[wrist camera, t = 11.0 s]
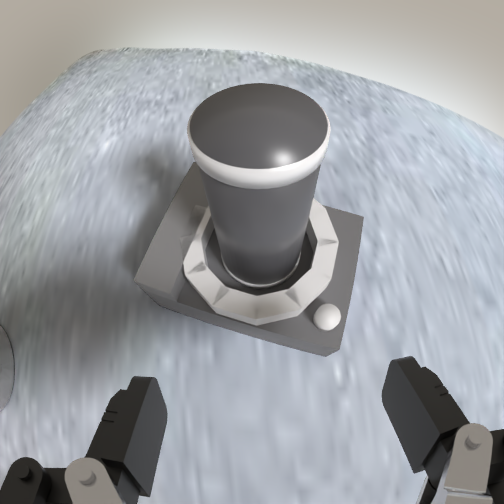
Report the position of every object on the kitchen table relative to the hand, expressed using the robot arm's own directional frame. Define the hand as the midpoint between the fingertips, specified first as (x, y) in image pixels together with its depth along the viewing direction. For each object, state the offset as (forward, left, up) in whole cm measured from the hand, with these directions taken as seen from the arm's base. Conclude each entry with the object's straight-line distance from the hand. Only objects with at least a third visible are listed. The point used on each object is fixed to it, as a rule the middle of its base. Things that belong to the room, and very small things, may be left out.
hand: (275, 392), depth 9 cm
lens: (-3, +8, -6) cm, 10 cm away
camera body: (-3, +8, -10) cm, 13 cm away
